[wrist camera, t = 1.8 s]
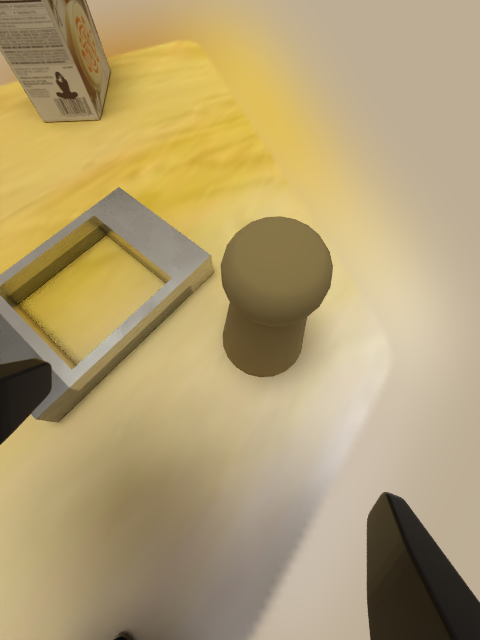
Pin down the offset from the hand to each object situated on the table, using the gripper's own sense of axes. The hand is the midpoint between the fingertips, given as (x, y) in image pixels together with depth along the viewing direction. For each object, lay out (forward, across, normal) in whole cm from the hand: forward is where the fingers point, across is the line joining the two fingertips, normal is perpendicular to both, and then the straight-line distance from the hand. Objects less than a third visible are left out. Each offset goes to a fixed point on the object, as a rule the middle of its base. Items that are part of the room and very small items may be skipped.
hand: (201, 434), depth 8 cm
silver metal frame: (+14, +13, +5) cm, 20 cm away
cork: (+15, 0, +4) cm, 16 cm away
